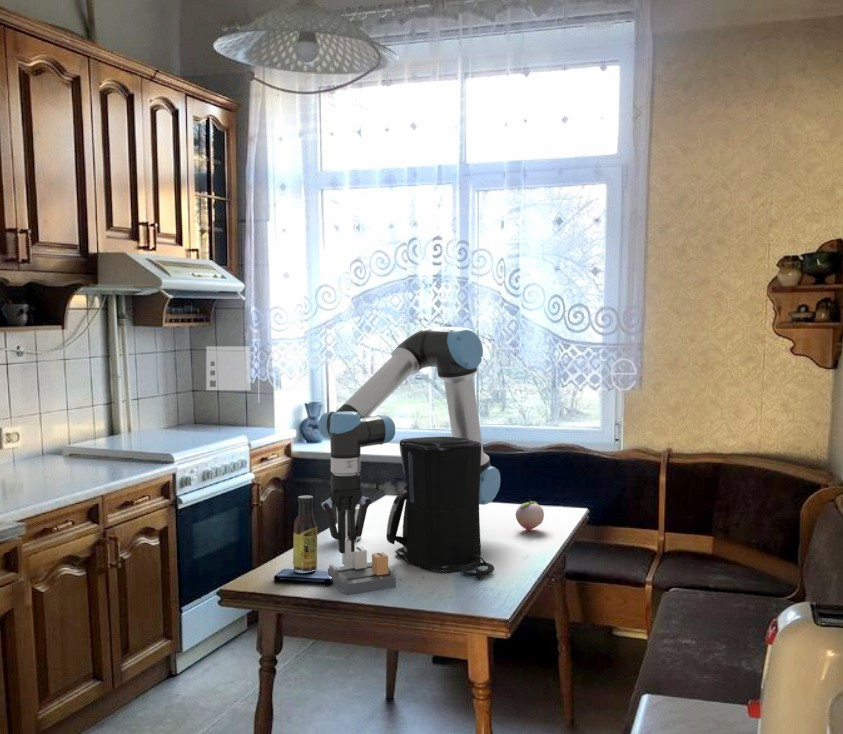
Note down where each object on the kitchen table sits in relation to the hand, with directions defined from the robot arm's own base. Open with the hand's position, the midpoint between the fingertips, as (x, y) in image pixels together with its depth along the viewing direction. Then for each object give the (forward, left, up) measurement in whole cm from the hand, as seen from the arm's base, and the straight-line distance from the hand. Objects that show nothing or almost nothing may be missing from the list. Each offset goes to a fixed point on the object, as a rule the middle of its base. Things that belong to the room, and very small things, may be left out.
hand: (346, 564), depth 203 cm
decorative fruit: (-19, +68, -4) cm, 70 cm away
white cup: (-35, +14, -4) cm, 38 cm away
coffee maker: (-2, +27, -4) cm, 27 cm away
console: (+4, +3, -4) cm, 6 cm away
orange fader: (+7, +6, -1) cm, 9 cm away
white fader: (0, +3, -1) cm, 3 cm away
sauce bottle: (-11, -7, -4) cm, 14 cm away
